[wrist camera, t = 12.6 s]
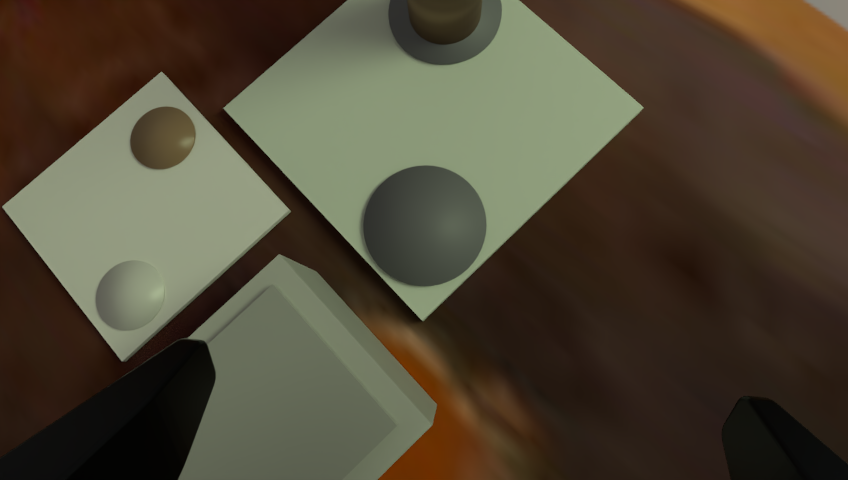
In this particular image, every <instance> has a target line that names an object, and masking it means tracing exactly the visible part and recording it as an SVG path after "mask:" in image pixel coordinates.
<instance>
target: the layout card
mask: <svg viewBox="0 0 848 480" xmlns="http://www.w3.org/2000/svg"><path fill="white" fill-rule="evenodd" d="M2 207H3V209H4V210H5V211H6V213H7V214H8V215H9V216H10V218H11V219H12V220H13V222H14V223H15V224H16V225H17V227H18V228H19V229H20V231H21V232H22V233H23V234H24V236H25V237H26V238H27V240H28V241H29V242H30V244H31V245H32V246H33V247H34V249H35V250H36V251H37V253H38V254H39V255H40V256H41V258H42V259H43V260H44V262H45V263H46V264H47V265H48V267H49V268H50V269H51V271H52V272H53V273H54V274H55V276H56V277H57V278H58V280H59V281H60V282H61V284H62V285H63V286H64V287H65V289H66V290H67V291H68V293H69V294H70V295H71V296H72V298H73V299H74V300H75V302H76V303H77V304H78V305H79V307H80V308H81V309H82V311H83V312H84V313H85V314H86V316H87V317H88V318H89V320H90V321H91V322H92V324H93V325H94V326H95V327H96V329H97V330H98V331H99V333H100V334H101V335H102V336H103V338H104V339H105V340H106V342H107V343H108V344H109V345H110V347H111V348H112V349H113V351H114V352H115V353H116V354H117V356H118V357H119V358H120V360H121V361H127V360H128V359H129V358H130V357H131V356H133V355H134V354H135V353H136V352H137V351H138V350H139V349H140V348H141V347H142V346H144V345H145V344H146V343H147V342H148V341H149V340H150V339H151V338H152V337H154V336H155V335H156V334H157V333H158V332H159V331H160V330H161V329H162V328H163V327H165V326H166V325H167V324H168V323H169V322H170V321H171V320H172V319H173V318H174V317H176V316H177V315H178V314H179V313H180V312H181V311H182V310H183V309H184V308H185V307H187V306H188V305H189V304H190V303H191V302H192V301H193V300H194V299H195V298H196V297H198V296H199V295H200V294H201V293H202V292H203V291H204V290H205V289H206V288H208V287H209V286H210V285H211V284H212V283H213V282H214V281H215V280H216V279H217V278H219V277H220V276H221V275H222V274H223V273H224V272H225V271H226V270H227V269H228V268H230V267H231V266H232V265H233V264H234V263H235V262H236V261H237V260H238V259H239V258H241V257H242V256H243V255H244V254H245V253H246V252H247V251H248V250H249V249H251V248H252V247H253V246H254V245H255V244H256V243H257V242H258V241H259V240H260V239H262V238H263V237H264V236H265V235H266V234H267V233H268V232H269V231H270V230H271V229H273V228H274V227H275V226H276V225H277V224H278V223H279V222H280V221H281V220H282V219H284V218H285V217H286V216H287V215H288V214H289V213H290V212H291V211H290V210H289V209H288V208H287V207H286V205H285V204H284V203H283V202H282V201H281V200H280V199H279V198H278V197H277V196H276V195H275V194H274V192H273V191H272V190H271V189H270V188H269V187H268V186H267V185H266V184H265V183H264V182H263V181H262V179H261V178H260V177H259V176H258V175H257V174H256V173H255V172H254V171H253V170H252V169H251V167H250V166H249V165H248V164H247V163H246V162H245V161H244V160H243V159H242V158H241V157H240V156H239V154H238V153H237V152H236V151H235V150H234V149H233V148H232V147H231V146H230V145H229V144H228V143H227V141H226V140H225V139H224V138H223V137H222V136H221V135H220V134H219V133H218V132H217V131H216V129H215V128H214V127H213V126H212V125H211V124H210V123H209V122H208V121H207V120H206V119H205V118H204V116H203V115H202V114H201V113H200V112H199V111H198V110H197V109H196V108H195V107H194V106H193V105H192V103H191V102H190V101H189V100H188V99H187V98H186V97H185V96H184V95H183V94H182V93H181V92H180V90H179V89H178V88H177V87H176V86H175V85H174V84H173V83H172V82H171V81H170V80H169V78H168V77H167V76H166V75H165V74H164V73H163V72H161V73H159V74H158V75H157V76H156V77H155V78H153V79H152V80H151V81H150V82H149V83H148V84H146V85H145V86H144V87H143V88H142V89H140V90H139V91H138V92H137V93H136V94H135V95H133V96H132V97H131V98H130V99H129V100H128V101H126V102H125V103H124V104H123V105H122V106H120V107H119V108H118V109H117V110H116V111H115V112H113V113H112V114H111V115H110V116H109V117H107V118H106V119H105V120H104V121H103V122H102V123H100V124H99V125H98V126H97V127H96V128H94V129H93V130H92V131H91V132H90V133H89V134H87V135H86V136H85V137H84V138H83V139H82V140H80V141H79V142H78V143H77V144H76V145H74V146H73V147H72V148H71V149H70V150H69V151H67V152H66V153H65V154H64V155H63V156H61V157H60V158H59V159H58V160H57V161H56V162H54V163H53V164H52V165H51V166H50V167H48V168H47V169H46V170H45V171H44V172H43V173H41V174H40V175H39V176H38V177H37V178H35V179H34V180H33V181H32V182H31V183H30V184H28V185H27V186H26V187H25V188H24V189H23V190H21V191H20V192H19V193H18V194H17V195H15V196H14V197H13V198H12V199H11V200H10V201H8V202H7V203H6V204H5V205H4V206H2Z"/></svg>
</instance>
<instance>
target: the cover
mask: <svg viewBox="0 0 848 480" xmlns="http://www.w3.org/2000/svg"><path fill="white" fill-rule="evenodd" d="M188 338H189V339H199V340H204V341H205V342H206V343H207V345H208V348H209V351H210V354H211V357H212V361H213V364H214V367H215V371H216V380H215V384H214V387H213V390H212V393H211V395H210V398H209V401H208V404H207V406H206V409H205V412H204V415H203V417H202V420H201V423H200V426H199V428H198V431H197V434H196V436H195V439H194V442H193V445H192V447H191V450H190V453H189V455H188V458H187V460H186V463H185V466H184V468H183V470H182V472H181V474H180V477H179V479H178V480H377V479H378V478H379V477H380V476H381V475H382V474H383V473H384V472H385V471H386V470H387V469H388V468H389V467H390V466H391V465H392V464H393V463H394V462H396V461H397V460H398V459H399V458H400V457H401V456H402V455H403V454H404V453H405V452H406V451H407V450H408V449H409V448H410V447H411V446H412V445H413V444H414V443H415V442H416V441H417V440H418V439H419V438H420V437H421V436H422V435H423V434H424V433H425V432H426V431H427V430H428V429H429V428H430V427H431V426H432V424H433V420H434V416H435V412H436V408H437V404H436V403H435V402H434V401H433V400H432V398H431V397H430V396H429V395H428V394H427V393H426V392H425V391H424V390H423V389H422V387H421V386H420V385H419V384H418V383H417V382H416V381H415V380H414V379H413V378H412V376H411V375H410V374H409V373H408V372H407V371H406V370H405V369H404V368H403V366H402V365H401V364H400V363H399V362H398V361H397V360H396V359H395V358H394V357H393V355H392V354H391V353H390V352H389V351H388V350H387V349H386V348H385V347H384V346H383V344H382V343H381V342H380V341H379V340H378V339H377V338H376V337H375V336H374V334H373V333H372V332H371V331H370V330H369V329H368V328H367V327H366V326H365V325H364V323H363V322H362V321H361V320H360V319H359V318H358V317H357V316H356V315H355V314H354V312H353V311H352V310H351V309H350V308H349V307H348V306H347V305H346V304H345V302H344V301H343V300H342V299H341V298H340V297H339V296H338V295H337V294H336V293H335V291H334V290H333V289H332V288H331V287H330V286H329V285H328V284H327V283H326V282H325V280H324V279H323V278H322V277H321V276H320V275H319V274H318V273H317V272H316V271H314V270H312V269H310V268H308V267H305V266H303V265H301V264H299V263H297V262H295V261H293V260H291V259H289V258H286V257H284V256H282V255H280V254H279V255H278V256H277V257H276V258H275V259H273V260H272V261H271V262H270V263H269V264H268V265H267V266H266V267H265V268H264V269H263V270H261V271H260V272H259V273H258V274H257V275H256V276H255V277H254V278H253V279H252V280H250V281H249V282H248V283H247V284H246V285H245V286H244V287H243V288H242V289H241V290H240V291H238V292H237V293H236V294H235V295H234V296H233V297H232V298H231V299H230V300H229V301H228V302H226V303H225V304H224V305H223V306H222V307H221V308H220V309H219V310H218V311H217V312H216V313H214V314H213V315H212V316H211V317H210V318H209V319H208V320H207V321H206V322H205V323H203V324H202V325H201V326H200V327H199V328H198V329H197V330H196V331H195V332H194V333H193V334H191V335H190V336H189V337H188Z"/></svg>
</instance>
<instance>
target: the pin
mask: <svg viewBox="0 0 848 480" xmlns="http://www.w3.org/2000/svg"><path fill="white" fill-rule="evenodd" d="M407 5H408V13H409V19H410V23H411V25H412V27H413V29H414V30H415V32H416V33H417V34H418V35H419V36H420V37H422V38H423V39H425V40H426V41H429V42H431V43H435V44H441V45H447V44H453V43H457V42H459V41H462V40H464V39H465V38H467V37H468V36H469V35H470V34H472V32H473V31H474V30H475V29H476V27H477V25H478V23H479V21H480V17H481V9H482V0H407Z"/></svg>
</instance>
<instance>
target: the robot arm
mask: <svg viewBox="0 0 848 480" xmlns="http://www.w3.org/2000/svg"><path fill="white" fill-rule="evenodd" d="M215 380H216V371H215V367H214V364H213V361H212V357H211V354H210V351H209V348H208V345H207V343H206V342H205V341H204V340H199V339H189V338H182V339H179V340H177V341H175V342H174V343H172V344H171V345H169V346H168V347H166V348H165V349H163V350H162V351H160V352H159V353H157V354H156V355H154V356H153V357H151V358H150V359H148V360H147V361H145V362H144V363H142V364H141V365H139V366H138V367H136V368H135V369H133V370H132V371H130V372H129V373H127V374H126V375H124V376H123V377H121V378H120V379H118V380H117V381H115V382H114V383H112V384H111V385H109V386H108V387H106V388H105V389H103V390H102V391H100V392H99V393H97V394H96V395H94V396H92V397H91V398H89V399H88V400H86V401H85V402H83V403H82V404H80V405H79V406H77V407H76V408H74V409H73V410H71V411H70V412H68V413H67V414H65V415H64V416H62V417H61V418H59V419H58V420H56V421H55V422H53V423H52V424H50V425H49V426H47V427H46V428H44V429H43V430H41V431H40V432H38V433H37V434H35V435H34V436H32V437H31V438H29V439H28V440H26V441H25V442H23V443H22V444H20V445H19V446H17V447H16V448H14V449H13V450H11V451H10V452H8V453H7V454H5V455H4V456H2V457H1V458H0V480H178V479H179V477H180V474H181V472H182V470H183V468H184V466H185V463H186V460H187V458H188V455H189V453H190V450H191V447H192V445H193V442H194V439H195V436H196V434H197V431H198V428H199V426H200V423H201V420H202V417H203V415H204V412H205V409H206V406H207V404H208V401H209V398H210V395H211V393H212V390H213V387H214V384H215ZM722 442H723V447H724V451H725V455H726V460H727V464H728V469H729V473H730V477H731V480H848V464H847V463H846V462H845V461H844V460H843V459H841V458H840V457H839V456H838V455H837V454H836V453H834V452H833V451H832V450H831V449H830V448H829V447H827V446H826V445H825V444H824V443H823V442H822V441H820V440H819V439H818V438H817V437H816V436H815V435H813V434H812V433H811V432H810V431H809V430H808V429H806V428H805V427H804V426H803V425H802V424H801V423H799V422H798V421H797V420H796V419H795V418H794V417H792V416H791V415H790V414H789V413H788V412H787V411H785V410H784V409H783V408H782V407H781V406H780V405H778V404H777V403H776V402H775V401H773V400H771V399H769V398H764V397H754V396H743V397H741V398H740V399H739V400H738V401H737V403H736V405H735V406H734V408H733V410H732V411H731V413H730V415H729V417H728V418H727V420H726V422H725V423H724V425H723V429H722Z"/></svg>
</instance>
